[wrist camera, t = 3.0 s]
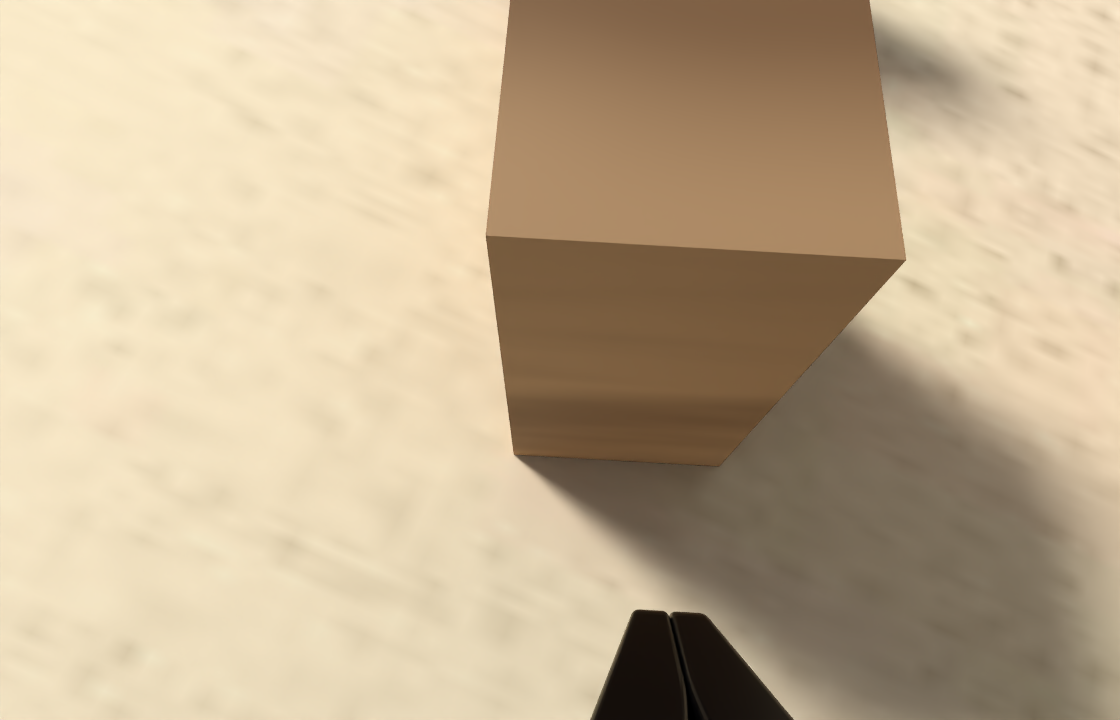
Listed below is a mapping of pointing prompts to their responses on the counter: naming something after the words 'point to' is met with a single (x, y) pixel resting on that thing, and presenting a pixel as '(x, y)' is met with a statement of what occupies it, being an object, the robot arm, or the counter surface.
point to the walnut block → (681, 215)
